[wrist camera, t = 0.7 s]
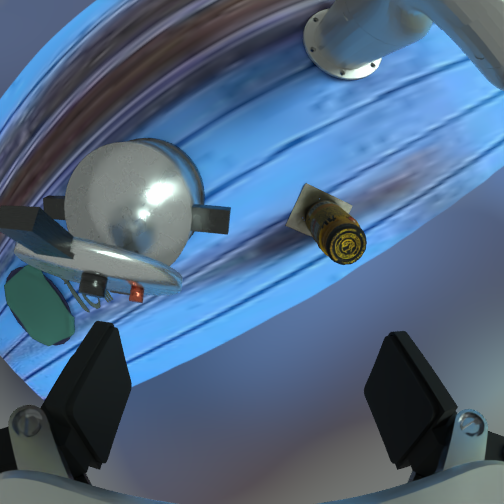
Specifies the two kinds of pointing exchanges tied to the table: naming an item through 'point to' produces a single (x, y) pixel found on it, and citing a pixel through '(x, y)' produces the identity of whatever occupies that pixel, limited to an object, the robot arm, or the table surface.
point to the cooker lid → (85, 257)
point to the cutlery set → (42, 305)
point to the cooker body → (138, 199)
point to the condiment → (328, 225)
